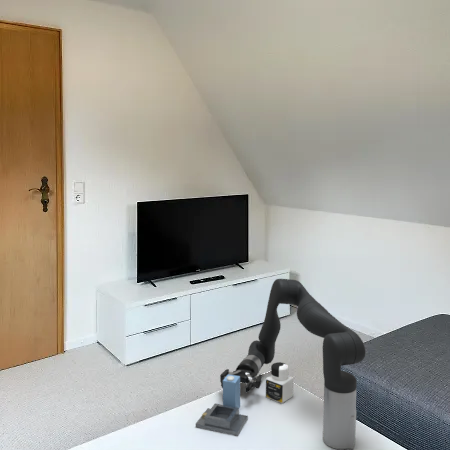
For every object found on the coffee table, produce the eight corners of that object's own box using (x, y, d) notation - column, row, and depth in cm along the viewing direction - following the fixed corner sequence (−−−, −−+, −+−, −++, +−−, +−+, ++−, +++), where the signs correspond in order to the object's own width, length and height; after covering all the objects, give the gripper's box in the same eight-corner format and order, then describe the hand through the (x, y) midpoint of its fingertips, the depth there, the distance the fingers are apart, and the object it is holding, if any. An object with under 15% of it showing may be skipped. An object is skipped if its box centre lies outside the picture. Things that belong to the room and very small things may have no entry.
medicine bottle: (265, 397, 168) (265, 365, 167) (276, 390, 174) (277, 358, 172) (282, 404, 164) (282, 370, 162) (293, 396, 169) (294, 364, 167)
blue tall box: (240, 407, 162) (240, 374, 160) (235, 414, 157) (235, 380, 156) (228, 404, 163) (227, 372, 162) (222, 412, 159) (222, 378, 157)
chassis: (247, 419, 154) (247, 408, 154) (237, 435, 145) (237, 424, 144) (207, 411, 159) (207, 401, 158) (195, 427, 150) (195, 416, 149)
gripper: (231, 356, 179) (215, 374, 164) (267, 361, 174) (254, 380, 159) (231, 375, 180) (215, 394, 165) (267, 381, 175) (254, 401, 160)
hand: (234, 387), depth 162 cm, fingers open, 8 cm apart
